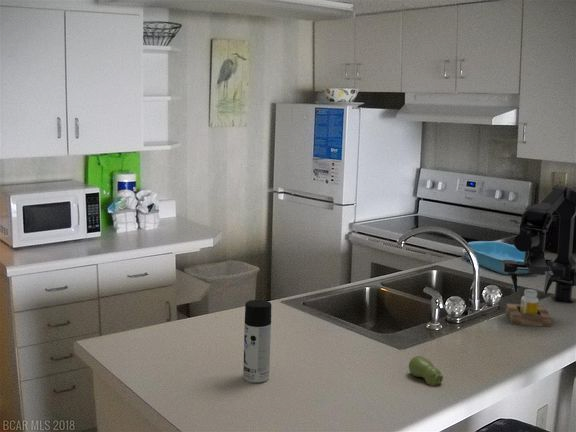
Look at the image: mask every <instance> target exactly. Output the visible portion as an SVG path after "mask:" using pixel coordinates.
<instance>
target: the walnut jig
mask: <svg viewBox="0 0 576 432" xmlns="http://www.w3.org/2000/svg"><path fill="white" fill-rule="evenodd" d="M520 306H521V303H520V304H519V303H508V302H507V303H506V306H505V313H506V315H507V317H508V319H509V321H510V323H511V324H512V325H517V326H518V325H519V326H521V325H522V326H531V327H532V326H533V327H544V328H545V327H546V328H548V327H549V328H552V323H553V321H552V320H553V317H552V315H550V313H549V312H548V310H547V309H546V307H545V305H538V311H537V314H526V313H520Z"/></svg>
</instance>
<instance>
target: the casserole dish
mask: <svg viewBox="0 0 576 432" xmlns="http://www.w3.org/2000/svg"><path fill="white" fill-rule="evenodd" d="M467 243H468V244H469V245H470V246H471V248H472V250H473V251H474V253H475V255H476V257H477V260H478V263H479V266H481V267H484V268H486V269H487V270H491V271H493V272H495V273H498V274H502V275H509V274H507V272H504V271H503V269H502V261H503V260H515V262H516V263H517V264H524V258H525V252H521V251H519V250H518V249H517V248H516V247H515V245H514V244H510V243H505V242H503V241H495V240H492V241H491V240H490V241H488V240H486V241H485V240H479V241H478V240H477V241H469V242H467ZM463 251H464V254H465V256H466V259H467V260H469V257H468V255H467V254H466V252H465V250H464V249H463ZM516 272H517V274H518V275H521V274H530V273H529V270H519V269H517V271H516ZM509 276H510V275H509Z"/></svg>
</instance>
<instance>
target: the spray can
mask: <svg viewBox="0 0 576 432" xmlns="http://www.w3.org/2000/svg"><path fill="white" fill-rule="evenodd" d="M243 330H244V336H243V371H242V372H243V375H242V376H243V380H244V382H248V383H251V384H264V383H266V382H267V381H268V380H269V378H270V368H271V367H270V365H271V359H270V358H271V336H272V335H271V333H272V332H271V331H272V303H271V301H269V300H264V299H263V300H262V299H251V300H248V301H246V302H245V307H244V329H243Z"/></svg>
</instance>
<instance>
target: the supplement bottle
mask: <svg viewBox="0 0 576 432" xmlns="http://www.w3.org/2000/svg"><path fill="white" fill-rule="evenodd" d="M537 296H538V291H537V290H535V289H528V288H527V289H524V293H523V295H522V296H521V299H520V304H521V306H520V313H526V314H537V311H538V306H539V298H538V297H537Z"/></svg>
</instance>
